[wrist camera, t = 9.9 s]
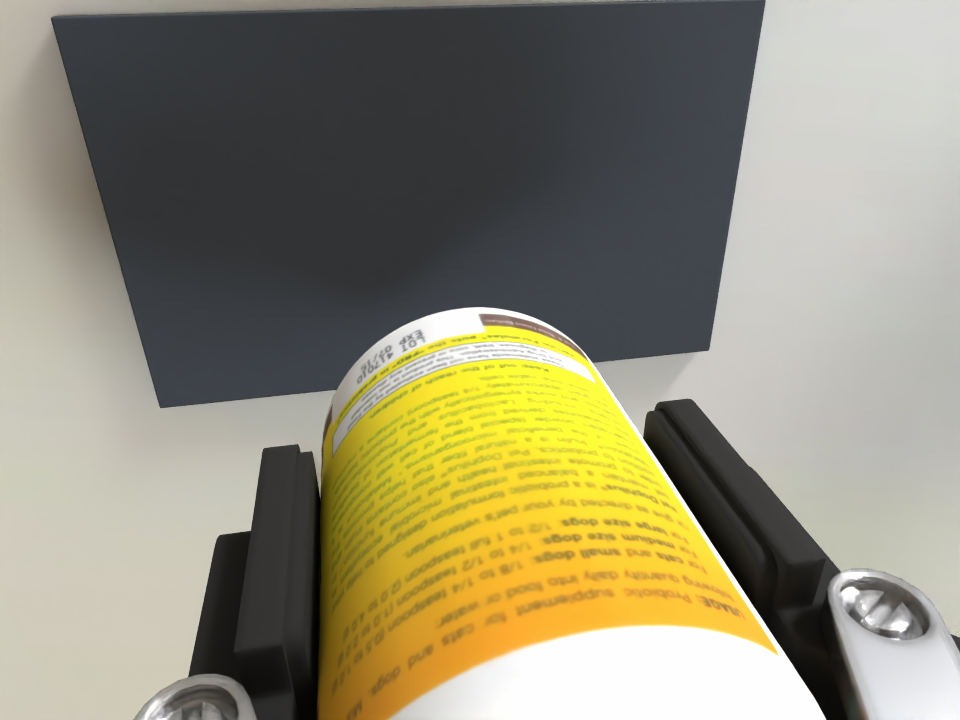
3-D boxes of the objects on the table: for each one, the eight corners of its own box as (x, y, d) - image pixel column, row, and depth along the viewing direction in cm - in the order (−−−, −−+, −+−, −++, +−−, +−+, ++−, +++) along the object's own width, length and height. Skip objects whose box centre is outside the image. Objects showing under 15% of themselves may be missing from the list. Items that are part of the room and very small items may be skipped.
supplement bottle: (260, 395, 13) (103, 1304, 4) (523, 238, 12) (993, 897, 4) (418, 570, 16) (528, 1337, 7) (639, 449, 15) (1065, 1111, 6)
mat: (55, 16, 19) (49, 16, 18) (758, -2, 22) (766, -2, 21) (162, 401, 24) (159, 408, 24) (703, 345, 27) (709, 350, 27)
